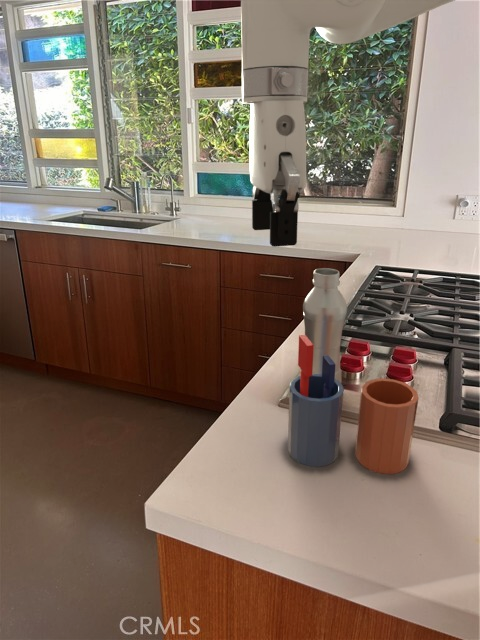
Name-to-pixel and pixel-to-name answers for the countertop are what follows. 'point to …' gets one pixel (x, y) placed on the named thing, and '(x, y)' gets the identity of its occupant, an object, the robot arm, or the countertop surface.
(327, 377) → the navy spoon
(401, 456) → the terracotta cup
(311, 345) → the red spatula
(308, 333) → the silver bottle
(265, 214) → the robot arm
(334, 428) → the blue cup
